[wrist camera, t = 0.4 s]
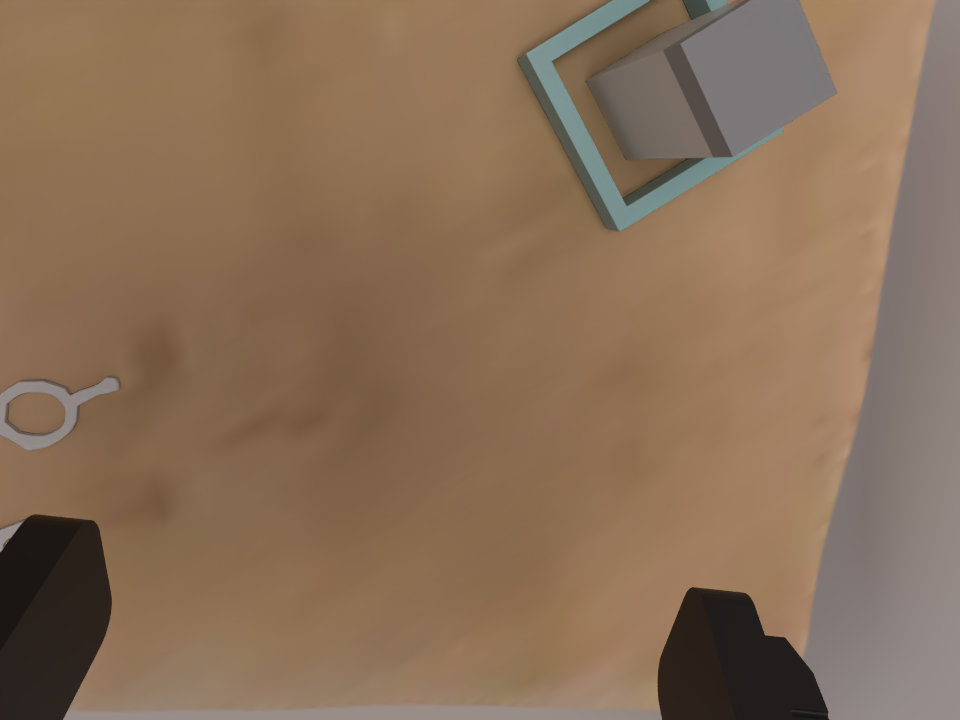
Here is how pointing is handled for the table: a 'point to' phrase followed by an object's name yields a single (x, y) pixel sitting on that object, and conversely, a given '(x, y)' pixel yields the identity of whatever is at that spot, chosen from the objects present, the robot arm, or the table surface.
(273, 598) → the table surface
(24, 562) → the robot arm
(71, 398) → the scissors
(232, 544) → the table surface
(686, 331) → the table surface
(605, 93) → the plug
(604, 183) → the collar
